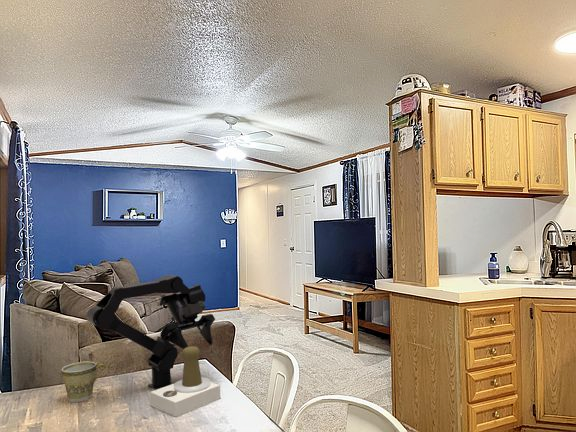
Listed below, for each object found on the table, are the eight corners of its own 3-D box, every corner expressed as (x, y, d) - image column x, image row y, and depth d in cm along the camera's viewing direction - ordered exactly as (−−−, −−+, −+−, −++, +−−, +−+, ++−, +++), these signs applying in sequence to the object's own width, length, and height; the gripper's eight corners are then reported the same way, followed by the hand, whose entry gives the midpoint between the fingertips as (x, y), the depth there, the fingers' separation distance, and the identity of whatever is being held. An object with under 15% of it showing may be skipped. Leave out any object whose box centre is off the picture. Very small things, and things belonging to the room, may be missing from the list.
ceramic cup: (67, 407, 131) (66, 374, 132) (58, 398, 139) (57, 366, 139) (111, 395, 140) (110, 363, 140) (101, 387, 148) (100, 357, 148)
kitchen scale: (150, 405, 131) (150, 389, 131) (194, 388, 143) (194, 374, 143) (175, 417, 122) (175, 399, 122) (220, 398, 134) (219, 382, 134)
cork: (197, 387, 131) (196, 350, 131) (178, 386, 132) (177, 349, 132) (205, 380, 137) (203, 344, 137) (186, 379, 138) (185, 344, 138)
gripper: (164, 298, 139) (185, 338, 131) (210, 290, 153) (233, 326, 145) (151, 320, 144) (171, 360, 136) (197, 310, 158) (218, 346, 150)
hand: (200, 347), depth 142 cm, fingers open, 9 cm apart
